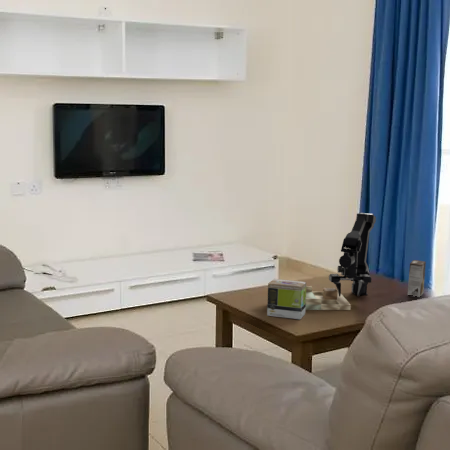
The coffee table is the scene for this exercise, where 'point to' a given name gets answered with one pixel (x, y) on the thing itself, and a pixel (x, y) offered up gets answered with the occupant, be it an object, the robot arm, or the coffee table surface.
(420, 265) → the coffee box
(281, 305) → the tea box
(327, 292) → the walnut block
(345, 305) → the board
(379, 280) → the coffee table surface
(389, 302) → the coffee table surface
